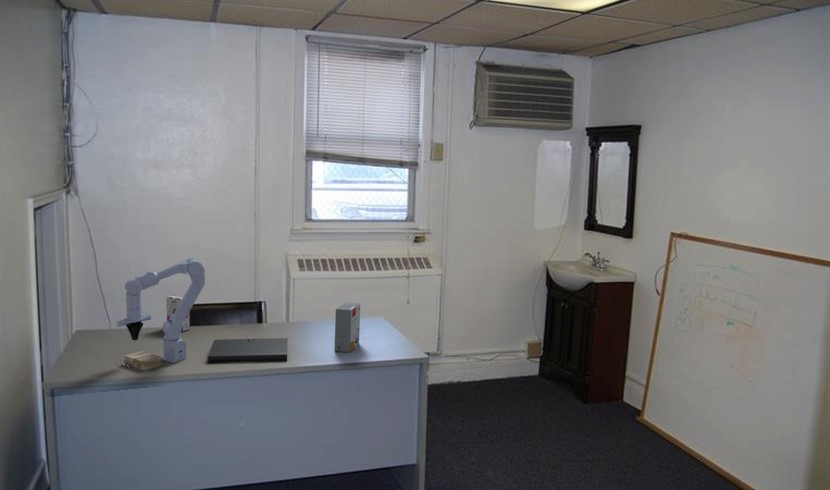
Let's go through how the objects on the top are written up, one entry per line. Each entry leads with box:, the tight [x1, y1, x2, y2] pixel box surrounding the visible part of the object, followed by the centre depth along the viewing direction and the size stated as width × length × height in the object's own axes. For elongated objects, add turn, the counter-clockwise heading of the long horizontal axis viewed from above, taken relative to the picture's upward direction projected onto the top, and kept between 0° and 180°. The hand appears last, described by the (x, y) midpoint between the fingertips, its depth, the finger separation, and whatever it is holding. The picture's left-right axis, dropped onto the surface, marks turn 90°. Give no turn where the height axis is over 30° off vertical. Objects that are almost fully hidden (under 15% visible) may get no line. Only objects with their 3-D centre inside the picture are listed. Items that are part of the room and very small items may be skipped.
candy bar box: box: [166, 294, 191, 333], centre depth 325 cm, size 11×5×16 cm, turn 62°
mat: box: [120, 359, 169, 374], centre depth 274 cm, size 20×12×1 cm, turn 57°
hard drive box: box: [333, 301, 361, 353], centre depth 305 cm, size 16×8×20 cm, turn 168°
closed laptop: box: [207, 337, 289, 364], centre depth 292 cm, size 33×4×24 cm
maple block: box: [124, 350, 163, 370], centre depth 273 cm, size 4×8×13 cm
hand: (134, 339), depth 274 cm, fingers closed
